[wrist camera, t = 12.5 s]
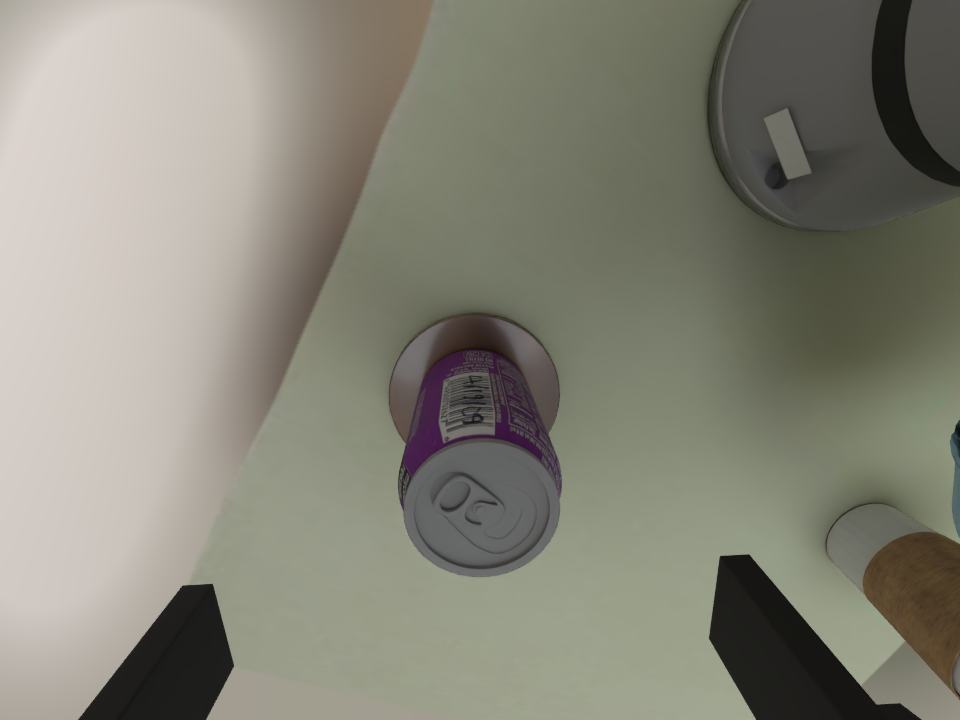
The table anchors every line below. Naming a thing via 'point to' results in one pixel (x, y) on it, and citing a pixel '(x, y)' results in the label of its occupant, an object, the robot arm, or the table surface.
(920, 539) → the coffee cup
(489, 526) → the beverage can
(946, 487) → the table surface
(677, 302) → the table surface
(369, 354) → the table surface
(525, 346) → the coaster
